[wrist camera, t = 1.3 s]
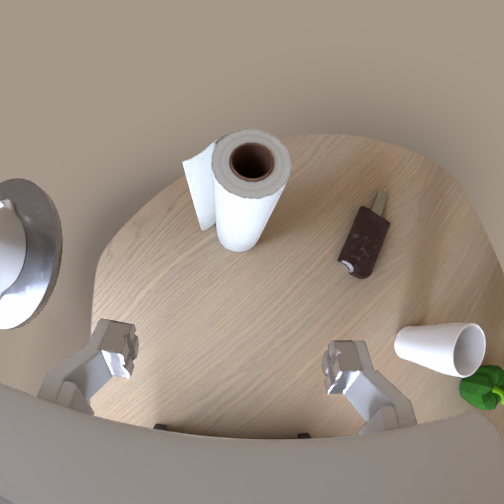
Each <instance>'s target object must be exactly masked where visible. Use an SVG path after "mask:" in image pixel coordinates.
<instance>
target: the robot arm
mask: <svg viewBox="0 0 504 504" xmlns="http://www.w3.org/2000/svg"><path fill="white" fill-rule="evenodd" d="M25 254H26V234H25V230H24V227H23V224H22V222H21V220H20V219H19V218H18V216H17V215H16V213H15V207H14V203H13V201H12V200H9V199H6V200H3V201H0V297H1V295H2V293H3V292H4V291H5V290H6V289H8V288H9V287H10V286H11V285H12V284H13V283H14V282H15V281H16V279H17V278H18V276H19V274H20V272H21V269H22V267H23V264H24V260H25ZM135 331H136V328H135V325H134V324H129V323H123V322H118V321H113V320H107V319H102V318H101V319H100V320H99V321H98V323H97V326H96V328H95V330H94V332H93V335H92V337H91V339H90V342H89V344H88V346H87V347H83V348H82V349H80V350H79V351H77V352H76V353H75V354H73V355H72V356H70V357H69V358H68V359H67V360H65V361H64V362H62V363H61V364H59V365H58V366H57V367H55V368H54V369H52V370H51V371H50V372H49V373H47V374H46V376H45V379H44V381H43V383H42V386H41V388H40V391H39V393H38V395H37V397H35V396H33V395H30V394H28V393H25V392H23V391H20V390H18V389H15V388H13V387H11V386H9V385H6V384H4V383H2V382H0V504H504V450H503V446H502V443H501V439H500V436H499V433H498V430H497V428H496V426H495V425H494V424H493V423H492V422H491V421H490V420H489V419H487V418H486V417H485V416H484V415H483V414H481V413H480V412H479V411H476V410H472V411H468V412H465V413H462V414H458V415H455V416H451V417H447V418H444V419H440V420H436V421H432V422H427V423H423V424H417V420H416V417H415V414H414V411H413V407H412V404H411V401H410V400H409V399H407V398H406V397H405V396H404V395H403V394H402V393H401V392H400V391H399V390H398V389H397V388H396V387H395V386H394V385H392V384H391V383H390V382H389V381H388V380H387V379H386V378H385V377H384V376H383V375H382V374H381V373H380V372H379V371H377V370H374V368H373V365H372V361H371V358H370V355H369V352H368V349H367V346H366V343H365V341H352V340H335V341H330V342H329V345H328V349H329V350H328V351H326V352H325V353H324V355H323V359H322V371H323V373H324V374H325V375H326V376H327V377H326V379H325V381H324V382H325V388H326V393H327V394H343V393H345V394H344V395H345V396H346V397H347V398H348V400H349V401H350V402H351V403H352V405H353V406H354V407H355V408H356V410H357V411H358V412H359V413H360V415H361V416H362V417H363V418H364V420H365V421H366V422H367V423H366V424H365V425H364V426H363V427H362V428H361V429H360V430H359V431H358V434H359V435H350V436H340V437H328V438H312V439H239V438H223V437H211V436H201V435H192V434H184V433H177V432H170V431H163V430H157V429H152V428H146V427H141V426H136V425H131V424H126V423H122V422H118V421H113V420H109V419H105V418H101V417H97V416H94V411H93V410H92V408H91V407H90V405H89V404H88V402H87V401H88V400H89V399H90V398H91V397H92V396H93V395H94V394H95V393H96V392H97V391H98V390H99V389H100V388H101V387H102V386H103V385H104V384H105V383H106V382H107V381H108V380H109V379H110V378H111V377H112V376H118V377H124V378H131V375H132V371H133V368H134V364H133V360H134V359H135V358H137V354H138V348H139V341H138V337H137V336H136V335H135Z"/></svg>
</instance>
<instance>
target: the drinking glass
mask: <svg viewBox="0 0 504 504" xmlns="http://www.w3.org/2000/svg"><path fill="white" fill-rule="evenodd" d="M394 347H395V351H396V353H397V355H398V356H399V357H400V358H402V359H406V360H409V361H412V362H414V363H417V364H420V365H422V366H425V367H427V368H430V369H432V370H435V371H437V372H440V373H443V374H447V375H451V376H457V377H468V376H470V375H472V374H473V373H475V372H476V370H477V369H478V368H479V366H480V365H481V363H482V361H483V358H484V355H485V349H486V339H485V334H484V332H483V330H482V328H481V327H480V326H479V325H478V324H476V323H469V322H449V323H440V324H432V325H422V326H406V327H404V328H402V329H401V330H400V331H399V332H398V334H397V336H396V338H395V342H394Z"/></svg>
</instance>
